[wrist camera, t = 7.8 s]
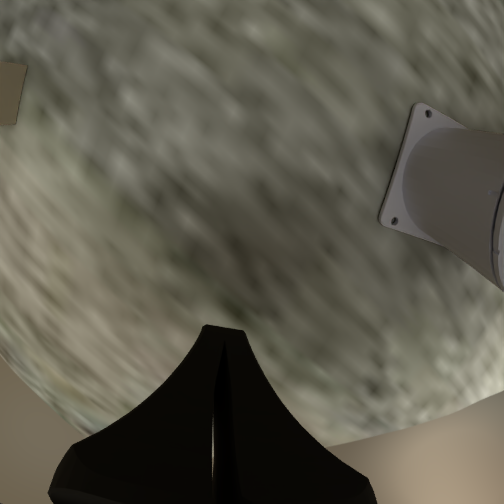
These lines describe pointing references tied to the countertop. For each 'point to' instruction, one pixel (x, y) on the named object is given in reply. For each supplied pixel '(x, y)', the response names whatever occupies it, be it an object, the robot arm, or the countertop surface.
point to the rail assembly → (10, 91)
